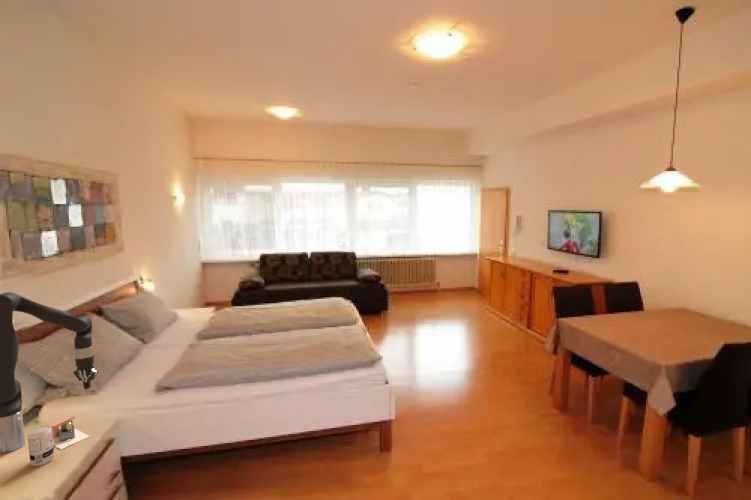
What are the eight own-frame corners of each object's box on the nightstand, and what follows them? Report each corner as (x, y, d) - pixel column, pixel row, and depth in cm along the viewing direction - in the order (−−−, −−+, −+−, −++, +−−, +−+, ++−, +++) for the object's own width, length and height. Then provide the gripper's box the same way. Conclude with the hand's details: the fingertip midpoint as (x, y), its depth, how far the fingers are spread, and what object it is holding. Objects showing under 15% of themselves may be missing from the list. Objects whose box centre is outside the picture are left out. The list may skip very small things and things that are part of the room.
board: (61, 450, 181) (61, 449, 181) (44, 440, 190) (44, 439, 189) (89, 437, 191) (89, 436, 191) (72, 428, 200) (72, 427, 200)
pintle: (68, 439, 190) (67, 424, 189) (66, 438, 191) (65, 423, 190) (73, 437, 192) (71, 422, 191) (71, 436, 192) (70, 421, 192)
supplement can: (29, 461, 172) (26, 430, 171) (53, 453, 179) (50, 422, 177) (31, 469, 167) (28, 437, 166) (55, 460, 173) (52, 429, 172)
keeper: (55, 438, 190) (54, 426, 190) (52, 438, 191) (51, 425, 190) (75, 427, 200) (74, 416, 200) (73, 427, 201) (72, 415, 200)
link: (74, 437, 190) (74, 430, 190) (59, 442, 187) (59, 434, 186) (74, 427, 200) (74, 420, 200) (60, 431, 196) (59, 424, 196)
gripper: (66, 357, 190) (69, 391, 192) (89, 358, 188) (92, 392, 190) (79, 352, 198) (82, 384, 199) (102, 353, 196) (104, 385, 197)
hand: (87, 388), depth 195 cm, fingers closed
